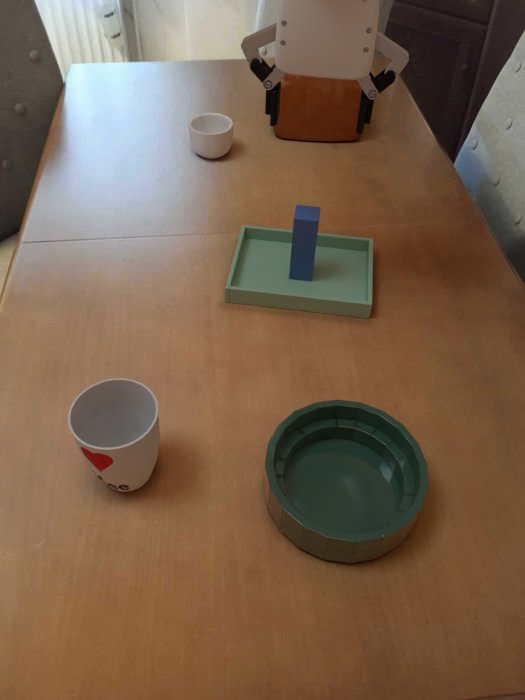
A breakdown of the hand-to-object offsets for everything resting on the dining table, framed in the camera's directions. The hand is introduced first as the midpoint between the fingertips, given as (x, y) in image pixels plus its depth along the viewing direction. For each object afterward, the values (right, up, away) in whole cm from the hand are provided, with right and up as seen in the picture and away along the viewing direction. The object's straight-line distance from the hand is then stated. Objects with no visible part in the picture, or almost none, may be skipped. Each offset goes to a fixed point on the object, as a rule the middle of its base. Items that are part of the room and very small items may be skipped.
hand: (316, 124), depth 68 cm
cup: (-20, -38, -5) cm, 43 cm away
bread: (+4, +21, +50) cm, 55 cm away
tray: (-1, -15, +16) cm, 22 cm away
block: (-1, -15, +16) cm, 22 cm away
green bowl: (+2, -40, -6) cm, 40 cm away
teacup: (-15, +10, +39) cm, 43 cm away
